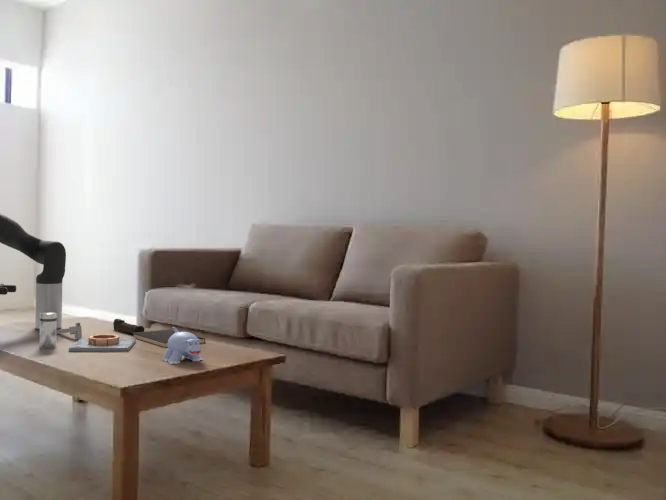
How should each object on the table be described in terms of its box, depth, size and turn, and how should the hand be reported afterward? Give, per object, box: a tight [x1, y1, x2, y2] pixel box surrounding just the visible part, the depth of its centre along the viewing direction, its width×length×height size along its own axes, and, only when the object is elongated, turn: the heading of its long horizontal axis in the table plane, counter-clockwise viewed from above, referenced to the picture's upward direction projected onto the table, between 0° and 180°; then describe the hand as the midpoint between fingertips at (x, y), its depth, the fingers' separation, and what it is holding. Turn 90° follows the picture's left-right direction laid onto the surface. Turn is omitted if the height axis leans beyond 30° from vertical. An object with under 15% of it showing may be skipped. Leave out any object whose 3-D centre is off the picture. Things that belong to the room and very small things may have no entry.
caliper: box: [56, 322, 83, 341], centre depth 230 cm, size 20×1×6 cm, turn 48°
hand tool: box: [113, 318, 145, 336], centre depth 242 cm, size 19×4×5 cm, turn 44°
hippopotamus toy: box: [161, 326, 204, 365], centre depth 195 cm, size 11×15×10 cm
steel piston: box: [38, 313, 58, 350], centre depth 209 cm, size 5×5×11 cm
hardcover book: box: [131, 328, 206, 348], centre depth 229 cm, size 16×23×2 cm
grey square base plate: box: [68, 333, 137, 353], centre depth 214 cm, size 18×18×3 cm
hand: (11, 289), depth 207 cm, fingers open, 8 cm apart
